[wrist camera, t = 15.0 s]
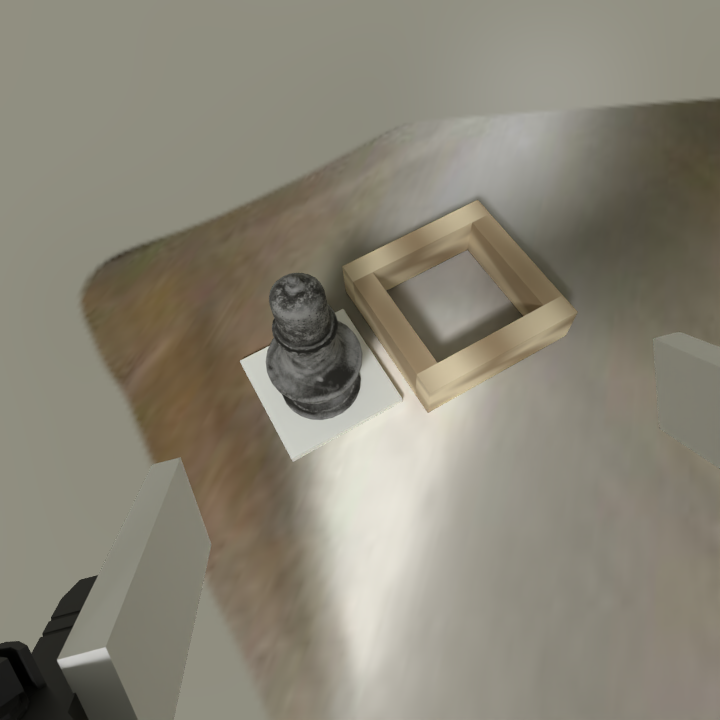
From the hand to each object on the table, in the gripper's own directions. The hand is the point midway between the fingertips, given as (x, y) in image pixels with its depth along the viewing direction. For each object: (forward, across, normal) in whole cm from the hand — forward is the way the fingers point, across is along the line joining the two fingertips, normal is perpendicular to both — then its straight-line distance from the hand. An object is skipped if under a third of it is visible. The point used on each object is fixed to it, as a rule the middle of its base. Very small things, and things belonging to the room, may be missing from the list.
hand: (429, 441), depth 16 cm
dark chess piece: (+22, -3, -6) cm, 23 cm away
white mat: (+23, -3, -6) cm, 24 cm away
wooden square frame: (+25, +7, -4) cm, 26 cm away
